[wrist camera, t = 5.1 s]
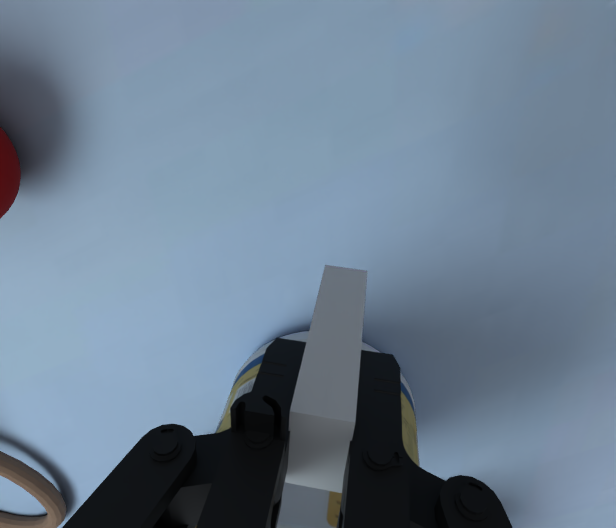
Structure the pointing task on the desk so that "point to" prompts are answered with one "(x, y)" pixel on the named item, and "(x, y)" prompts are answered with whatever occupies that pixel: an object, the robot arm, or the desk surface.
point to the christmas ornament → (8, 173)
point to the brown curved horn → (5, 524)
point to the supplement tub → (306, 500)
